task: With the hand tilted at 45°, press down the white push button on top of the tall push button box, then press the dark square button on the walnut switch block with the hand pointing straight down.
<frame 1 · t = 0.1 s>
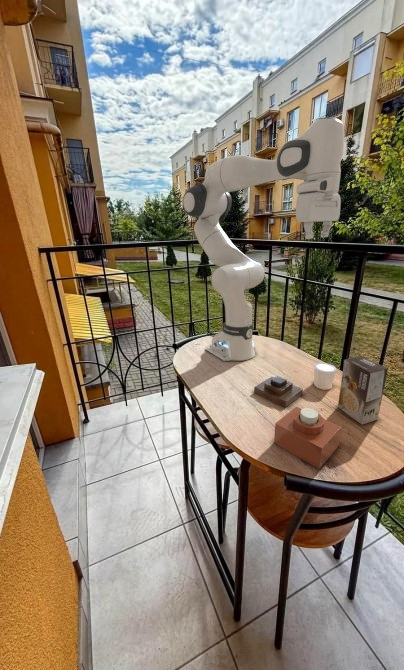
hand: (317, 238, 84), 48 cm above the table, tool pointing down, fingers open, 8 cm apart
switch block: (277, 393, 93), on the table
push button box: (305, 444, 71), on the table
coffee box: (356, 413, 82), on the table
white push button: (308, 416, 68), point 9 cm above the table, slide at 0.1 cm
switch button: (278, 381, 91), point 4 cm above the table, slide at 0.1 cm
white cylinder: (322, 385, 96), on the table
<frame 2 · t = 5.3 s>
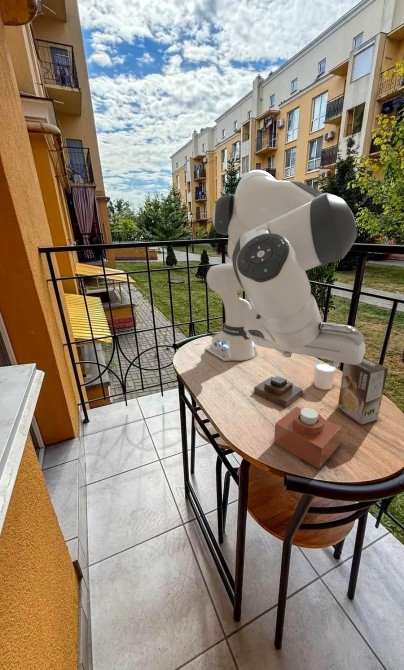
hand: (310, 358, 57), 26 cm above the table, tool tilted 40°, fingers open, 8 cm apart
nothing on the table moved.
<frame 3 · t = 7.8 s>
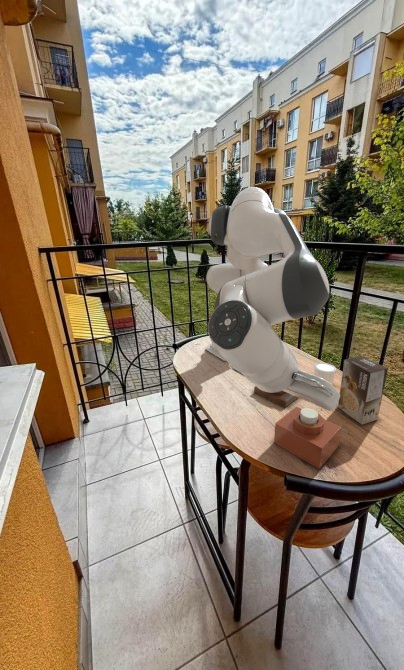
hand: (295, 391, 60), 19 cm above the table, tool tilted 45°, fingers closed
nothing on the table moved.
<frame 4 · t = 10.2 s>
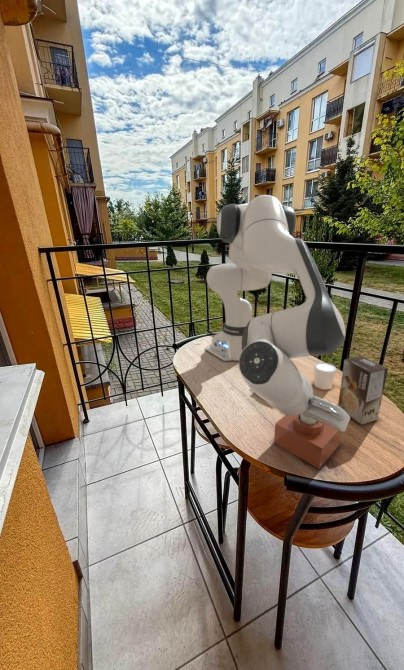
hand: (308, 411, 67), 10 cm above the table, tool tilted 45°, fingers closed, pressing on white push button
white push button: (308, 416, 68), point 9 cm above the table, slide at 0.1 cm, touching gripper
everything else where it was.
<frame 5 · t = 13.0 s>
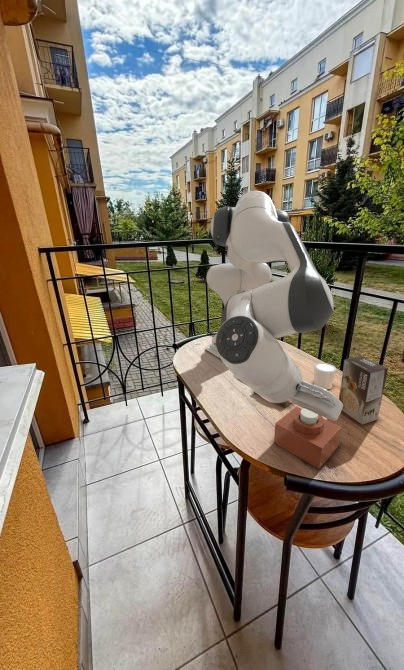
hand: (298, 400, 61), 16 cm above the table, tool tilted 45°, fingers closed
white push button: (308, 416, 68), point 9 cm above the table, slide at 0.1 cm
everything else where it was.
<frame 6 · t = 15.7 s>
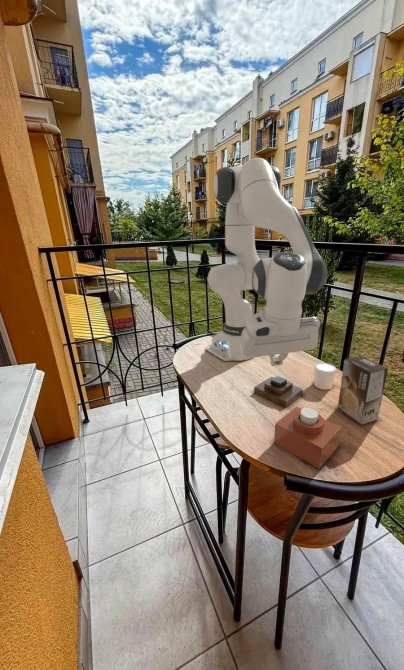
hand: (276, 364, 77), 16 cm above the table, tool pointing down, fingers closed
nothing on the table moved.
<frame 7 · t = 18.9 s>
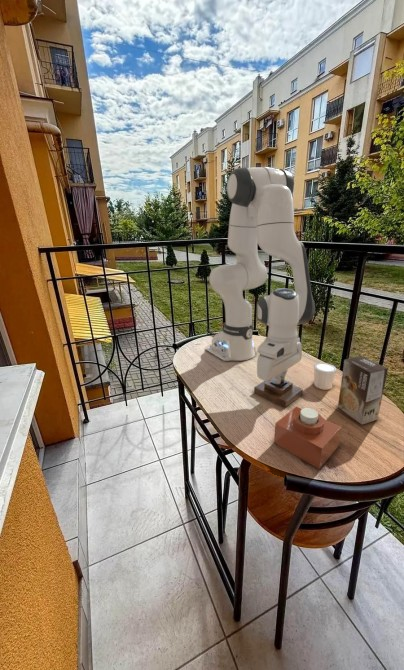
hand: (279, 382, 91), 4 cm above the table, tool pointing down, fingers closed, pressing on switch button
switch button: (278, 384, 91), point 4 cm above the table, slide at -0.9 cm, touching gripper
everything else where it was.
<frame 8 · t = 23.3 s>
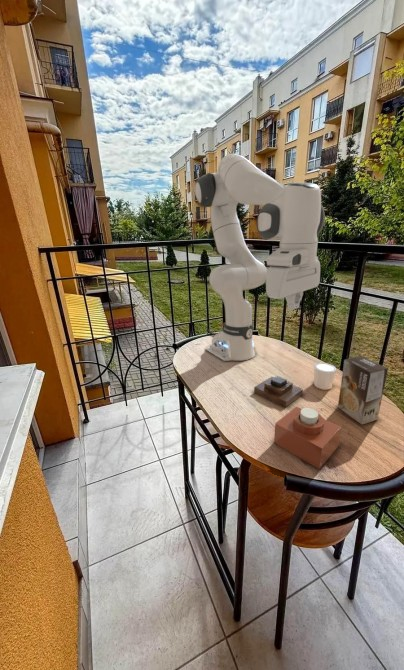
hand: (293, 309, 74), 31 cm above the table, tool pointing down, fingers closed
switch button: (278, 381, 91), point 4 cm above the table, slide at 0.1 cm
everything else where it was.
at the end: white push button pushed in 1.3 cm at the most during the clip, back to where it started at the end; white push button slide at 0.1 cm; switch button pushed in 1.1 cm at the most during the clip, back to where it started at the end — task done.
